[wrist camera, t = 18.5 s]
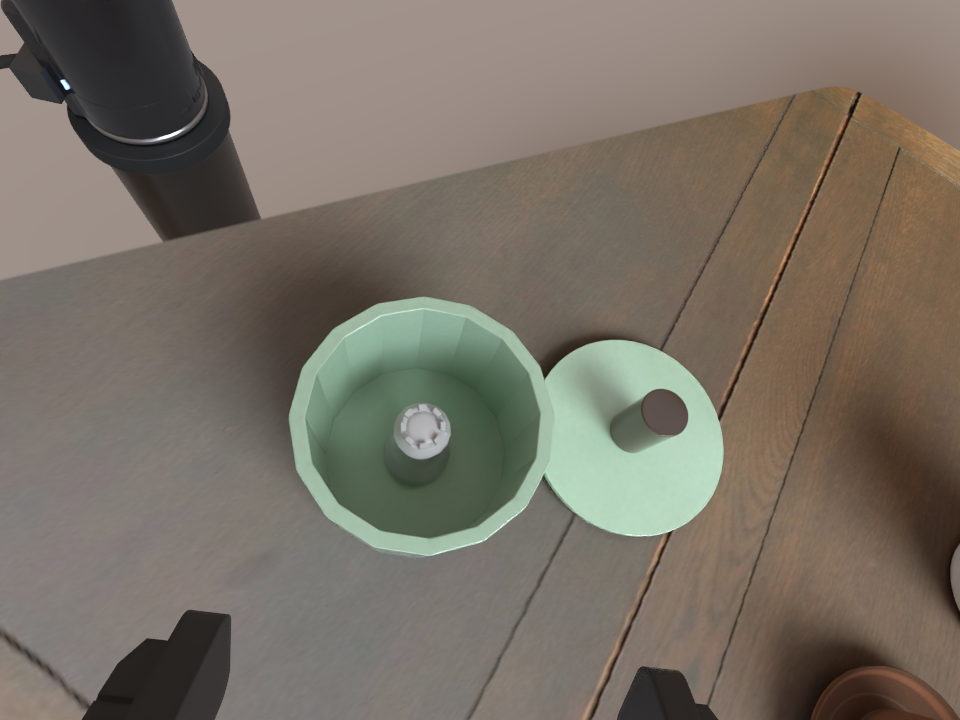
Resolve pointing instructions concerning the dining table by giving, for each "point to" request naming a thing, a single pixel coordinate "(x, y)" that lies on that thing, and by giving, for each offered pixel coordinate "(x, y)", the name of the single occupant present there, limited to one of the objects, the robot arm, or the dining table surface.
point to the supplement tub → (956, 575)
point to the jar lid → (631, 438)
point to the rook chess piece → (418, 444)
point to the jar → (421, 379)
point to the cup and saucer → (881, 697)
